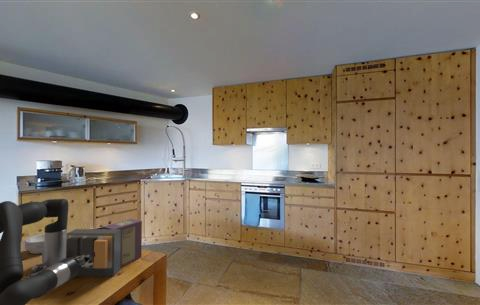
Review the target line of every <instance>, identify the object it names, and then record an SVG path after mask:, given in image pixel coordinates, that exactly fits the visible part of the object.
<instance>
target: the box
mask: <svg viewBox="0 0 480 305" xmlns="http://www.w3.org/2000/svg"><path fill="white" fill-rule="evenodd" d="M142 224H143V221H142V220H138V219H133V218H129V219H125V220H122V221H118V222H114V223H111V224H107V225H104V226H102V229H121V244H120V268H121V267H123V266H125V265H128V264H130V263H132V262H133V261H136V260H138V259H140V258H142V250H143V249H142V241H143V240H142V239H143V238H142V234H143V232H142V231H143V227H142V226H143V225H142Z"/></svg>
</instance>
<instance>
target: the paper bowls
mask: <svg viewBox="0 0 480 305" xmlns="http://www.w3.org/2000/svg"><path fill="white" fill-rule="evenodd" d="M44 236H45V233H43V234H38V235H34V236H31V237H28V238H27V239H25V241H24V249H25V251H28V252H30V253H31V254H34V255H36V254H37V255H38V254H42V247H43V246H44Z"/></svg>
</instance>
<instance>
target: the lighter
mask: <svg viewBox="0 0 480 305" xmlns="http://www.w3.org/2000/svg"><path fill="white" fill-rule="evenodd" d="M43 265H44V263H42V262H40V263H36V264H35V266H33V267H32V268H31V269H30V273H28V277H33V276H35V275H36V274H38V273H40V272H42V271H44V270H46V269H47V268H48V267H46V266H43ZM28 277H27V278H28Z"/></svg>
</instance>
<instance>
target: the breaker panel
mask: <svg viewBox="0 0 480 305" xmlns="http://www.w3.org/2000/svg"><path fill="white" fill-rule="evenodd" d="M96 240H108V263H107V267H106V268H94V258H93V267H89V266H85V268H83V269H81V270H79V271H78V273H77V274H76V276H75V277H115V276H116V275H117V274H118V273H119V272H120V271H121V267H120V244H121V229H100V228H97V229H96V228H94V229H93V228H91V229H90V228H75V229H73V230H71V231H67V239H66V258H70V257H74V256H78V255H81V256H82V255H86V254H88V253H90V252H94V241H96Z"/></svg>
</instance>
